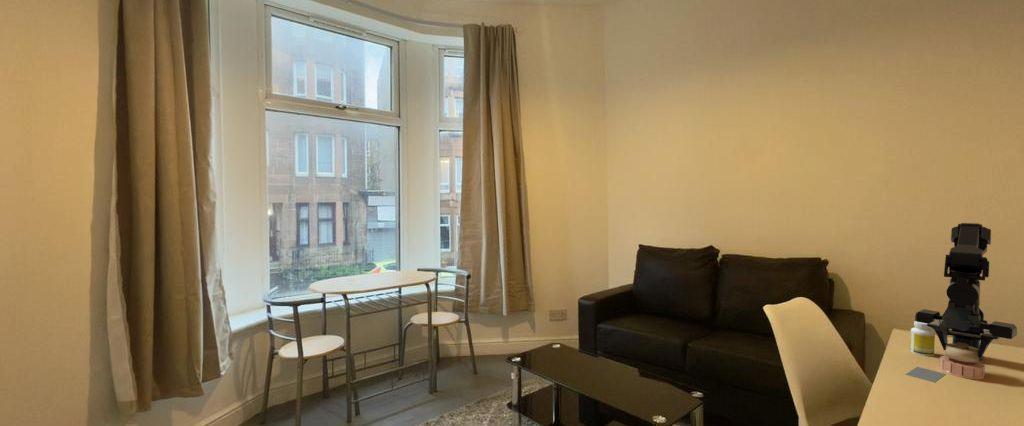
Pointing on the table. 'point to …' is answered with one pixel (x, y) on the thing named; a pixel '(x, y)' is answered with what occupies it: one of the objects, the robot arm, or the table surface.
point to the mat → (925, 374)
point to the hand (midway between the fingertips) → (962, 353)
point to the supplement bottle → (922, 339)
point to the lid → (962, 352)
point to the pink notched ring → (962, 368)
